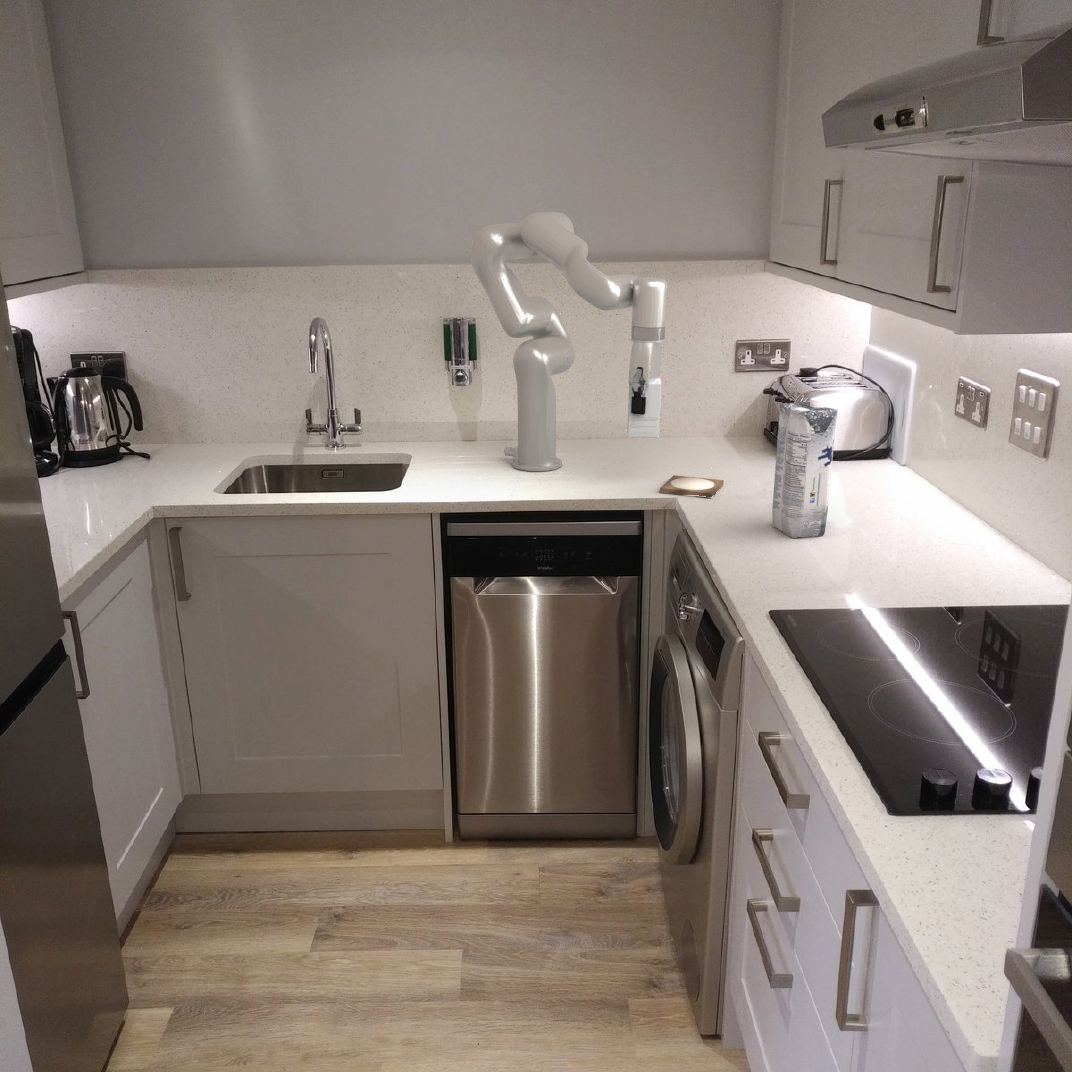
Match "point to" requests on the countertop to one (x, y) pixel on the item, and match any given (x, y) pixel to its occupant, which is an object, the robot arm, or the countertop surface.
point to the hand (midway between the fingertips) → (643, 409)
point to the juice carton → (803, 467)
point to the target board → (691, 486)
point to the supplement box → (646, 413)
